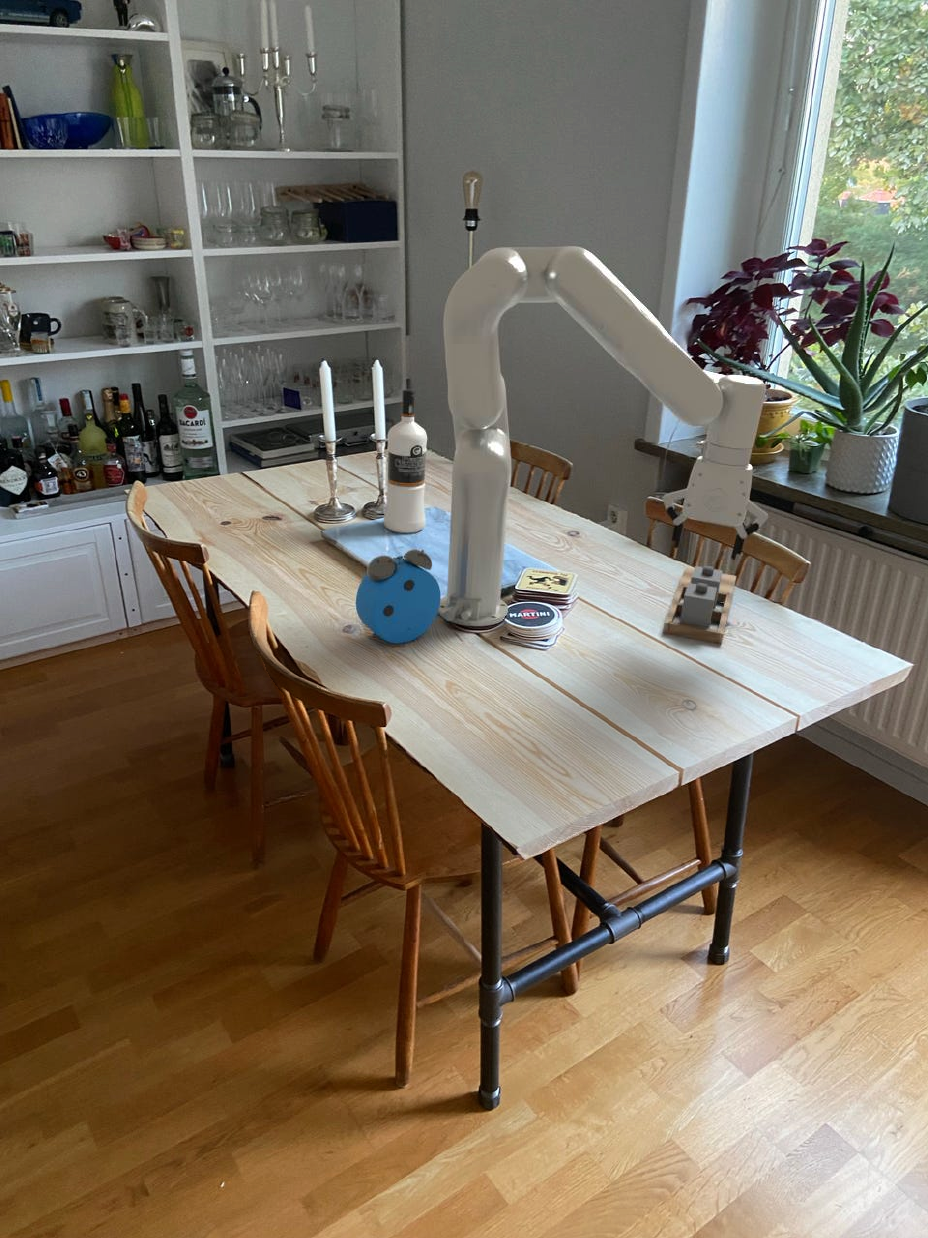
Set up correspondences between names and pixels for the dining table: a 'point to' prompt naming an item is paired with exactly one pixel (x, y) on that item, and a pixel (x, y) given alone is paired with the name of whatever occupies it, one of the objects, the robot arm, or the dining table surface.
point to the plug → (698, 605)
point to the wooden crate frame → (717, 615)
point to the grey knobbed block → (707, 578)
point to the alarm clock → (398, 597)
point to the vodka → (406, 472)
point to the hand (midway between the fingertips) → (705, 551)
